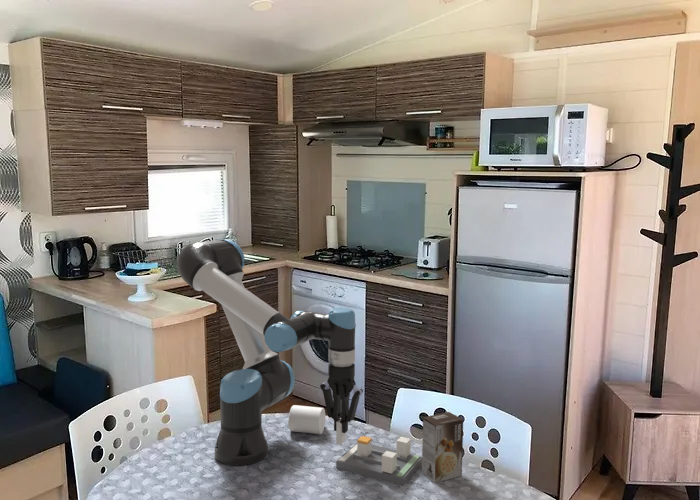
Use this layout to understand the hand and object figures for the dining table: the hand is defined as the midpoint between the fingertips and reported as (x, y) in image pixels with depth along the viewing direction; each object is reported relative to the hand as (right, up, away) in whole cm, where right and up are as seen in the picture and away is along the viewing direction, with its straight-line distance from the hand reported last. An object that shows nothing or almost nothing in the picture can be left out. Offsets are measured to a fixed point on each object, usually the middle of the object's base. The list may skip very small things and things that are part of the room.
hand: (340, 442), depth 168 cm
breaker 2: (+18, -2, -3) cm, 18 cm away
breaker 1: (+13, -3, -12) cm, 18 cm away
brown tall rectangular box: (+27, -6, -10) cm, 30 cm away
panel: (+11, -5, -5) cm, 13 cm away
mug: (-11, -2, +18) cm, 21 cm away
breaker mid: (+7, -2, -3) cm, 8 cm away
